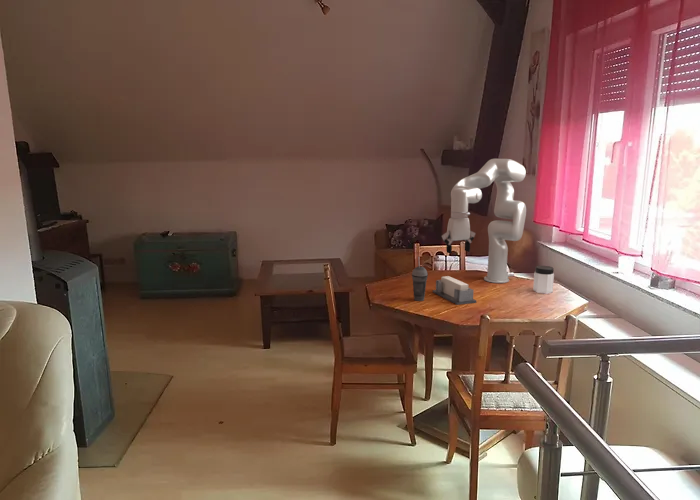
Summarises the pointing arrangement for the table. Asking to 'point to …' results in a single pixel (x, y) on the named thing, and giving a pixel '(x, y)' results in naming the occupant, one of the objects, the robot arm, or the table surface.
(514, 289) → the table surface
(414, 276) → the beverage cup
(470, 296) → the bracket board
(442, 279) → the rail
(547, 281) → the jar
